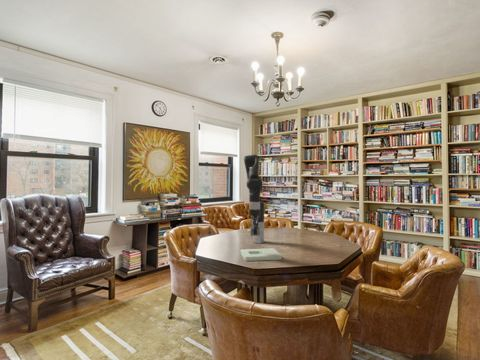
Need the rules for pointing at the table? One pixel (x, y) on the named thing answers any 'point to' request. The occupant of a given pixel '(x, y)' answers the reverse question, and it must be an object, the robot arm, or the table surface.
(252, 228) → the servo block
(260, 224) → the robot arm
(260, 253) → the chassis board
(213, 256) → the table surface
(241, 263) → the table surface
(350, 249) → the table surface
